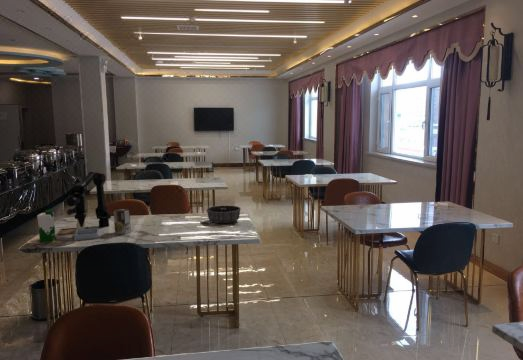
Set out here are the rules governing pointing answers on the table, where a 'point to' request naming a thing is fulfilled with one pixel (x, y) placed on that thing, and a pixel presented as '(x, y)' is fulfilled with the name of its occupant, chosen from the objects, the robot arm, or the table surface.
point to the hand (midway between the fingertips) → (81, 226)
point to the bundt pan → (223, 214)
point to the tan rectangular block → (79, 224)
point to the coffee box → (122, 221)
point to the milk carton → (46, 226)
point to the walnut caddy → (68, 231)
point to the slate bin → (85, 235)
